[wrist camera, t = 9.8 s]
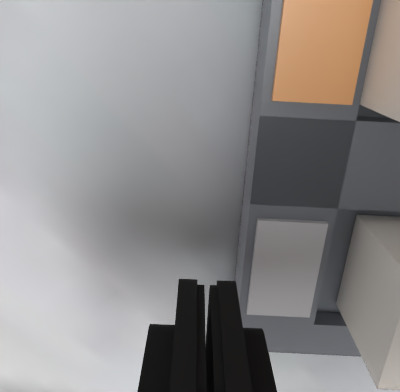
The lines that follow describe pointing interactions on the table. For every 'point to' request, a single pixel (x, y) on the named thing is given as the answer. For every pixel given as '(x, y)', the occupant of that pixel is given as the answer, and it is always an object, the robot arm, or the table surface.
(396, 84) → the tab
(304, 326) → the switch board
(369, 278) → the tab
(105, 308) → the table surface
